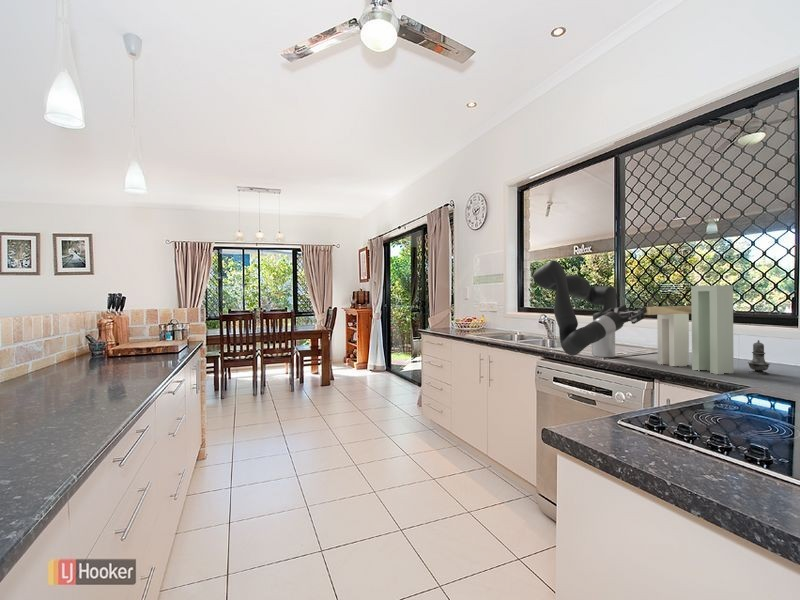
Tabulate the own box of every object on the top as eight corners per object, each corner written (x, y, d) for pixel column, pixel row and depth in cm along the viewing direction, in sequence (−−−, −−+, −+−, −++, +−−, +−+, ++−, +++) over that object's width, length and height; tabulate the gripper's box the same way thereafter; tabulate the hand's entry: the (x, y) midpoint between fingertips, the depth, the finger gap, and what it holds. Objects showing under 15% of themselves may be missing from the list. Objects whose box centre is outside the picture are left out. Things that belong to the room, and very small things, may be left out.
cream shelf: (657, 364, 158) (657, 313, 157) (672, 362, 160) (671, 313, 160) (674, 366, 151) (673, 314, 151) (689, 365, 153) (688, 313, 153)
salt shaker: (765, 375, 133) (765, 341, 133) (744, 372, 138) (744, 339, 138) (773, 373, 136) (772, 340, 136) (752, 371, 141) (751, 338, 141)
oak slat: (642, 314, 153) (642, 307, 153) (693, 312, 161) (693, 305, 161) (650, 314, 150) (649, 307, 150) (702, 313, 157) (702, 305, 157)
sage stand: (692, 370, 144) (691, 286, 144) (707, 368, 146) (706, 286, 146) (717, 374, 136) (716, 285, 135) (733, 373, 138) (732, 285, 138)
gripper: (620, 318, 138) (651, 300, 142) (588, 313, 151) (617, 297, 156) (625, 336, 139) (655, 318, 144) (593, 330, 153) (621, 314, 157)
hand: (635, 307), depth 150 cm, fingers open, 8 cm apart
